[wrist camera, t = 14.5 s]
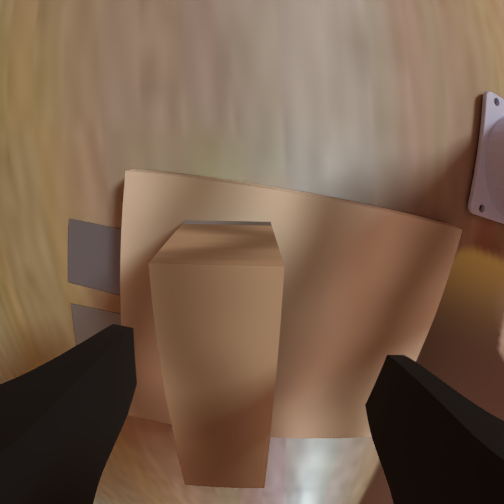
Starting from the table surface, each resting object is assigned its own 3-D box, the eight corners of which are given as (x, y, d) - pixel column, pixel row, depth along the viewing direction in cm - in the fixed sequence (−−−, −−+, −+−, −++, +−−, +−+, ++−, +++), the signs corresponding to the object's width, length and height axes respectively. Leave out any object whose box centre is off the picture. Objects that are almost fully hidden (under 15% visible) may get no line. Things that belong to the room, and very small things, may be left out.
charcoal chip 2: (130, 310, 19) (127, 315, 18) (132, 361, 20) (130, 366, 19) (75, 299, 19) (71, 303, 18) (81, 349, 20) (77, 354, 19)
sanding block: (270, 221, 15) (284, 266, 9) (260, 411, 19) (264, 487, 13) (185, 220, 15) (148, 263, 9) (197, 408, 19) (185, 484, 13)
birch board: (448, 223, 17) (462, 229, 15) (370, 422, 21) (375, 436, 20) (135, 168, 16) (125, 170, 14) (134, 401, 20) (128, 415, 19)
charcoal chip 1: (133, 228, 17) (130, 231, 17) (128, 292, 18) (125, 296, 18) (73, 216, 17) (68, 218, 16) (72, 278, 18) (68, 281, 18)
